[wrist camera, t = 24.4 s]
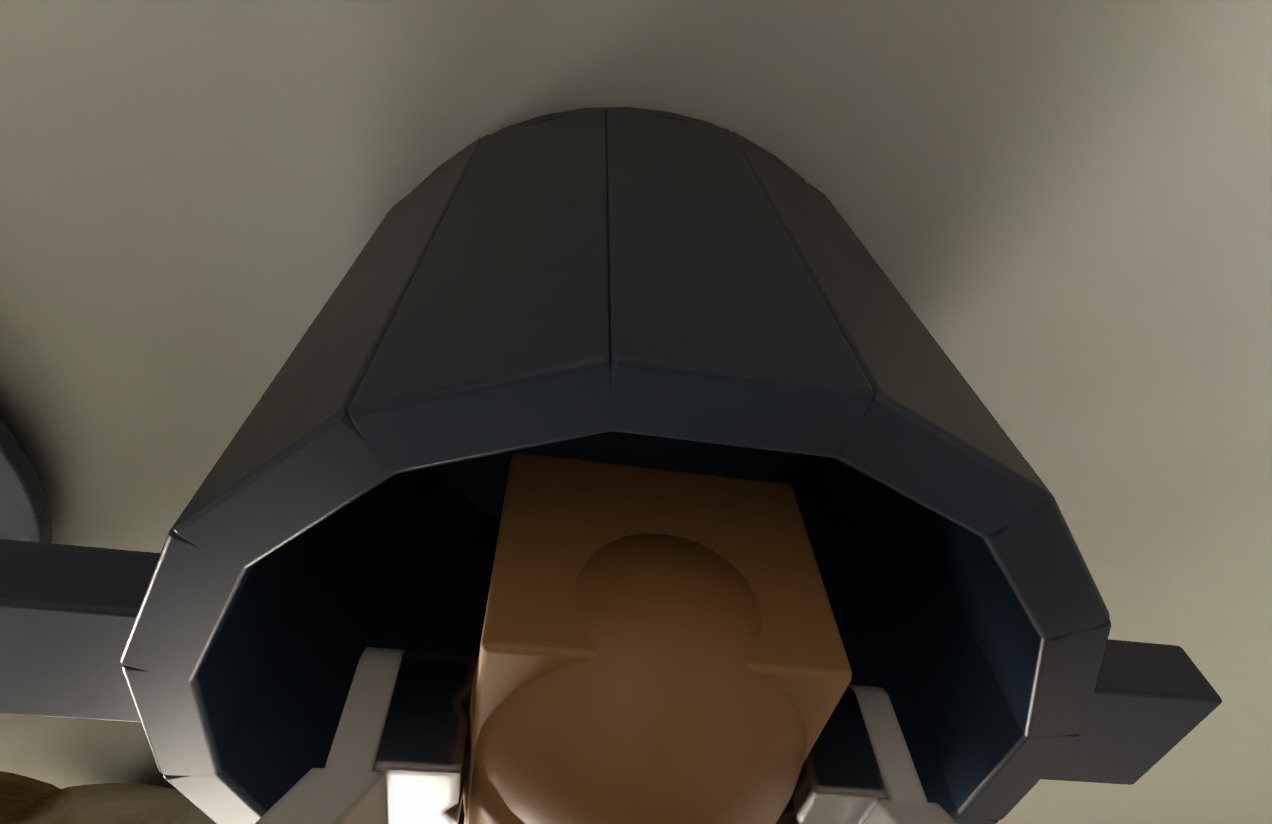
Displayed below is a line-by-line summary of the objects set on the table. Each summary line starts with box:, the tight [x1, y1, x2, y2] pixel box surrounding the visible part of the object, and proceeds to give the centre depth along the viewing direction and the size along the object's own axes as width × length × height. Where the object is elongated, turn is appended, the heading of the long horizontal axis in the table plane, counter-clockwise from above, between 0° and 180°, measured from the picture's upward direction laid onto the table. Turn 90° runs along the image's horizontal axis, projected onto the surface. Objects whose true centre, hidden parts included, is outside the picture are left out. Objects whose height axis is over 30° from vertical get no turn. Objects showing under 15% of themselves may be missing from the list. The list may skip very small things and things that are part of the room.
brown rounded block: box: [463, 452, 852, 824], centre depth 10 cm, size 6×4×4 cm
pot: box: [0, 107, 1222, 824], centre depth 13 cm, size 12×17×10 cm
